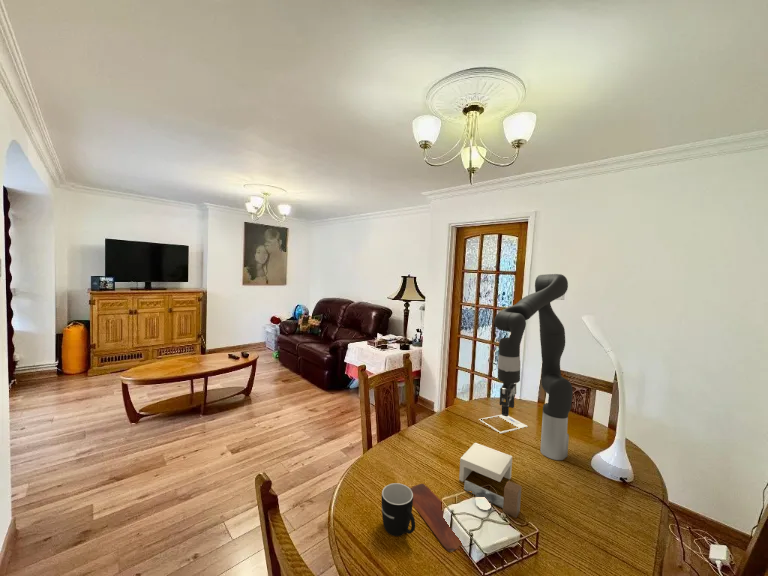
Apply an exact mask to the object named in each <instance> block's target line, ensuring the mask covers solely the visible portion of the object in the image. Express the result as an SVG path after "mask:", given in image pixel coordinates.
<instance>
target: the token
mask: <svg viewBox="0 0 768 576" xmlns="http://www.w3.org/2000/svg"><path fill="white" fill-rule="evenodd" d="M475 497H485V498H486V499H487V500H488V501H489V503H491V504H492V505H493V503H492V498H491V497H490V496H489V495H488V494H486V493H482V492H479V493H477V494H476V495H475Z"/></svg>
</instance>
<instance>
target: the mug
mask: <svg viewBox="0 0 768 576" xmlns="http://www.w3.org/2000/svg"><path fill="white" fill-rule="evenodd" d="M410 488H411V487H409V486H407V485H405V484H403V483H399V482H398V483H397V482H394V483H393V482H392V483H389V484H388V485H385V486H384V487H383V489H382V491H381V516H382V517H381V518H382V523H383V527H384V529H385V532H386V533H387V534H389V535H390V536H393V537H401V536H403V535H404V534H410V535H411V534H412V533H414V531H415V529H416V519H415V516H414V514H413V493H412V491H411V489H410ZM410 525H411V526H410ZM409 526H410V527H411V528H410V529H409Z"/></svg>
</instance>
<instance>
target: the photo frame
mask: <svg viewBox="0 0 768 576" xmlns="http://www.w3.org/2000/svg"><path fill="white" fill-rule="evenodd" d="M498 416H499V417H498ZM493 417H495V418H500V419H501V418H502V419H501V420H503V419H504V420H503V421H505V420H506V421H505V422H506V423H508V422H509V424H510V423H511V424H510V425H512V424H513V425H512V426H514V427H515V426H516V427H515V428H510V429H505V430H502V431H500V430H498V429H497V428H495V427H494V426H492V425H491V424H488V423H487V422H485V421H484V420H483V419H485V420H489V419H488V418H490V419H493ZM481 419H482V420H481ZM479 420H480V421H479ZM478 421H479V422H481V423H483V424H484V423H485V424H484V425H486V426H487V425H488V426H487V427H489V428H490V427H491V430H494V431H495V432H497V433H498V432H499V433H498V434H501V435H502V434H505V433H509V431H510V432H513V431H518V430H521V429H520V428H522V429H525V428H524V427H526V428H528V427H529V426H528V425H527V424H525V423H523V422H521V421H519V420H518V419H515V418H513V417H512V416H510V415H508V416H503V415H502V413H501V414H497V415H493V416H488V417H487V416H486V417H482V418H478ZM517 427H518V428H517ZM517 429H518V430H517Z"/></svg>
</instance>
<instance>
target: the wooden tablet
mask: <svg viewBox="0 0 768 576" xmlns="http://www.w3.org/2000/svg"><path fill="white" fill-rule="evenodd" d="M409 488H410V489H411V491H412V493H413V505H412V507H414V508H415V510H416V511H417V512H418V513H419V515H420V516H421V518H422V519H423V520H424V521H425V523H426V524H427V526H428V527H429V528H430V530H431V531H432V533H433V534H434V536H435V537H436V539H437V540H438V542H440V544H441V545H442V546H443V548H444V549H446V551H447V552H449V553H453V552H455V551H456V550H458V549H459V547H463V546H462V543H461V541H460V540H459V538H458V537H457V536H456V535H455V533H454V532H453V531H452V530H451V528H450V527H449V525H448V524H447V522H446V521H445V519H444V518H443V511H442V510H441V502H443V501H442V500H441V499H440V498H439V497H438V496H437V495H436V494H435V493H434V492H433V491H432V490H431V489H430V488H429V487H428V486H427V485H425V484H424V483H419V484H416V485H413V486H411V487H409ZM463 548H464V547H463Z"/></svg>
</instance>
